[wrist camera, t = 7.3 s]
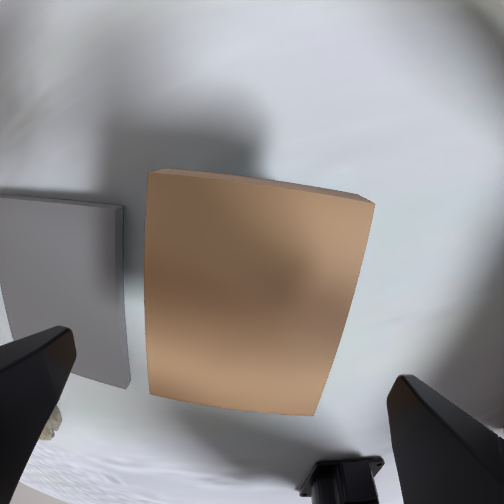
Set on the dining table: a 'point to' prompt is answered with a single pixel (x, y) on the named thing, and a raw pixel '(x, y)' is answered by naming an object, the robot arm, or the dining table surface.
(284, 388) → the lid
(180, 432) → the dining table surface
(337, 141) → the dining table surface
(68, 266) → the mat
